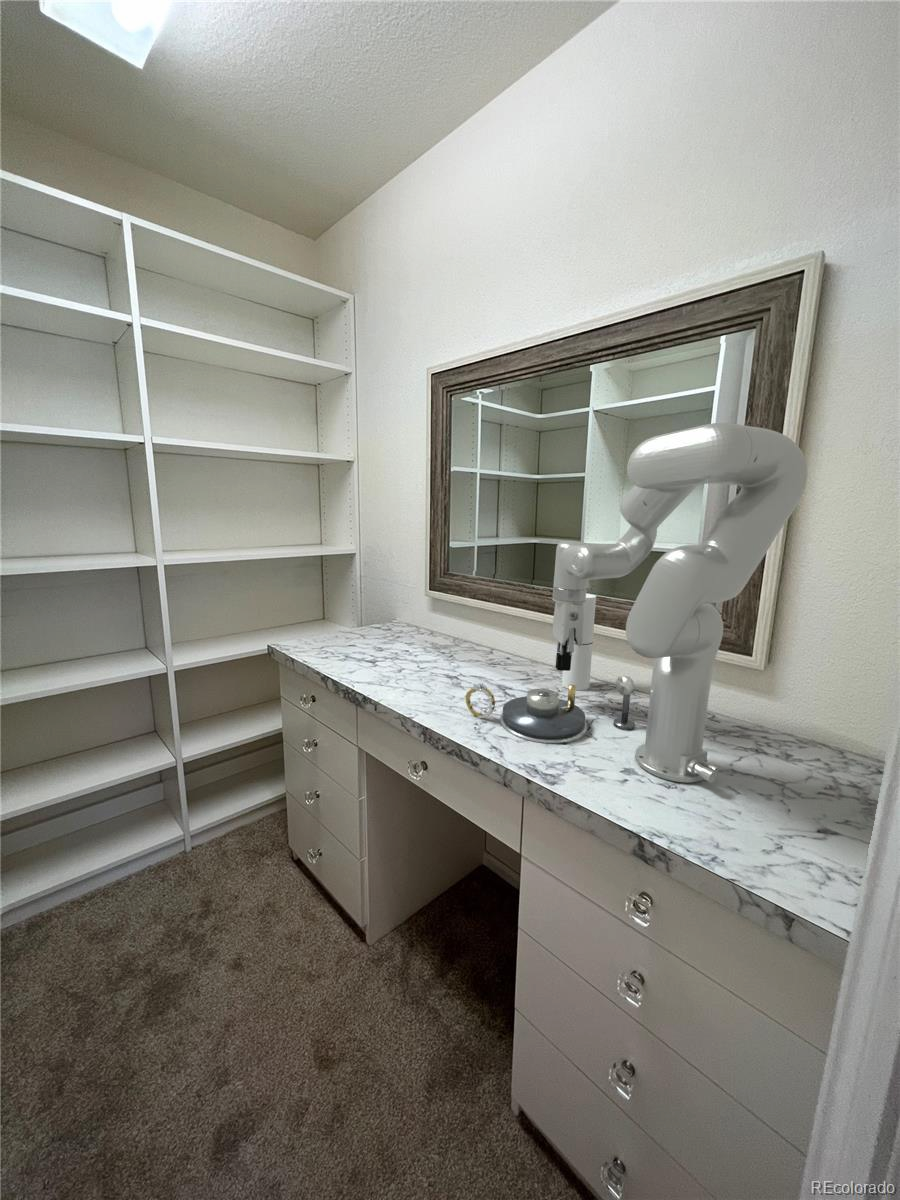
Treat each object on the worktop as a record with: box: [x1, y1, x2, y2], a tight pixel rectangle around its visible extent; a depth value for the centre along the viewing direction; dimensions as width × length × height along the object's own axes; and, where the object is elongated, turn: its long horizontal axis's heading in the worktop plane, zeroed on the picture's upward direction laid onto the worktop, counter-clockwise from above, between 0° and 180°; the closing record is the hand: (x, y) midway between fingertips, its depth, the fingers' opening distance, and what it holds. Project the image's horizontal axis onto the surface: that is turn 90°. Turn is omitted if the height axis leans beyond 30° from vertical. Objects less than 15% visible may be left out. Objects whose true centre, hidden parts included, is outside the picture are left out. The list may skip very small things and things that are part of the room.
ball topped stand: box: [613, 675, 636, 731], centre depth 103 cm, size 4×4×12 cm
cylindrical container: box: [561, 593, 597, 691], centre depth 126 cm, size 7×7×25 cm
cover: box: [526, 688, 560, 718], centre depth 104 cm, size 7×7×4 cm
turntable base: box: [499, 712, 588, 745], centre depth 105 cm, size 19×19×1 cm
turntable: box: [502, 685, 586, 739], centre depth 104 cm, size 18×18×7 cm
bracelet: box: [465, 683, 496, 719], centre depth 106 cm, size 7×3×8 cm, turn 52°
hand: (562, 669), depth 113 cm, fingers closed
